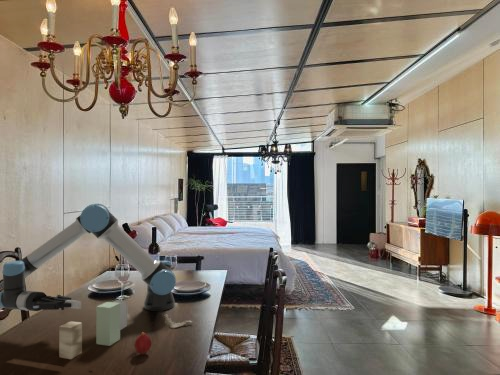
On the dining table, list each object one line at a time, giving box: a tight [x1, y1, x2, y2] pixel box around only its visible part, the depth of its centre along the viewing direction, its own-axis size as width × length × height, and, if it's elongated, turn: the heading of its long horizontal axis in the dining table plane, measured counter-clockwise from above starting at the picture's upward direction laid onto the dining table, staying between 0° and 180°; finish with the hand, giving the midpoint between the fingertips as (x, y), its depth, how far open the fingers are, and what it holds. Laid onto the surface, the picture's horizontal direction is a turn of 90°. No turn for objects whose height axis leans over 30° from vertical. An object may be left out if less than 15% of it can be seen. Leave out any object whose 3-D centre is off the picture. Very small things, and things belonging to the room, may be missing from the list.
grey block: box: [113, 299, 128, 331], centre depth 149 cm, size 5×5×12 cm
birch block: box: [58, 320, 83, 360], centre depth 123 cm, size 5×5×12 cm
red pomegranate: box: [134, 331, 153, 356], centre depth 127 cm, size 6×6×8 cm
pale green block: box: [95, 301, 121, 347], centre depth 135 cm, size 6×6×14 cm
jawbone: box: [163, 313, 194, 330], centre depth 158 cm, size 9×20×2 cm, turn 51°
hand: (79, 304), depth 138 cm, fingers closed
